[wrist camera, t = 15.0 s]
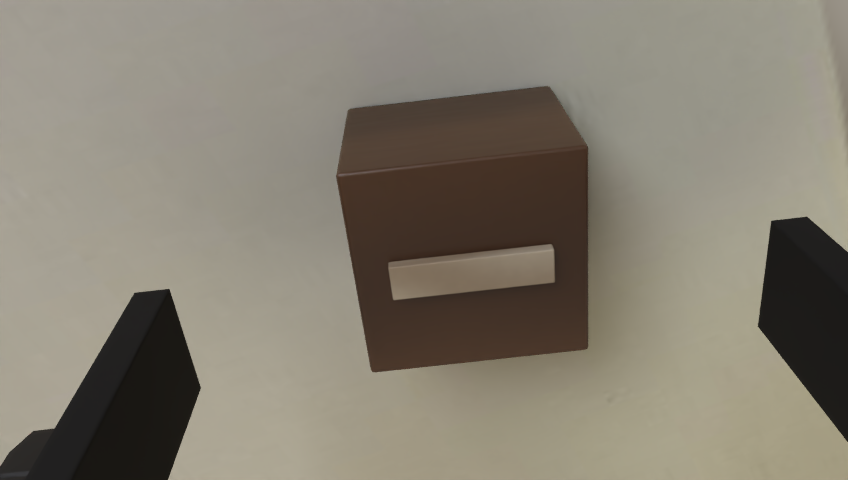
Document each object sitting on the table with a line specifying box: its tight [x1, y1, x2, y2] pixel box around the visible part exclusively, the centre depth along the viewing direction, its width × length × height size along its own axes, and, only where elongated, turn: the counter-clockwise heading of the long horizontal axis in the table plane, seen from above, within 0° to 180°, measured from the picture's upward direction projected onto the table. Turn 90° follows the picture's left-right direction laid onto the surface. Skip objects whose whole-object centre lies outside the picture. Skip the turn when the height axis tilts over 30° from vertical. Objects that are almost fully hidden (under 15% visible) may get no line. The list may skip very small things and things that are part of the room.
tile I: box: [336, 86, 588, 372], centre depth 19 cm, size 6×6×5 cm
